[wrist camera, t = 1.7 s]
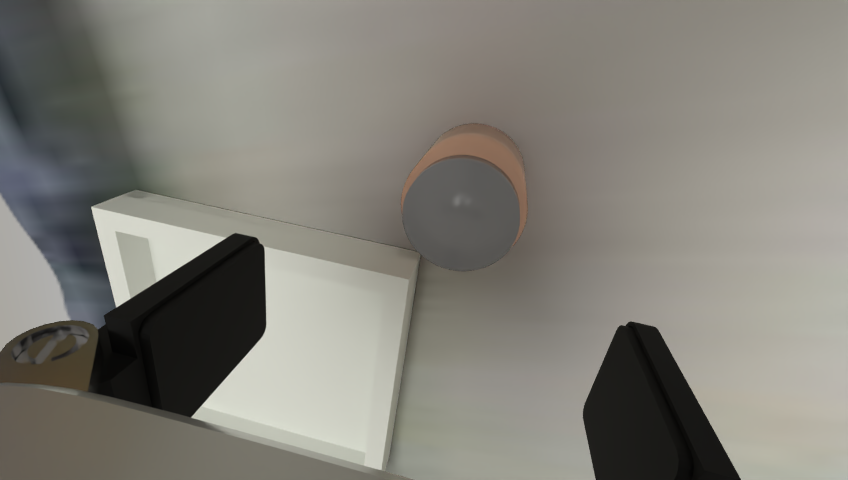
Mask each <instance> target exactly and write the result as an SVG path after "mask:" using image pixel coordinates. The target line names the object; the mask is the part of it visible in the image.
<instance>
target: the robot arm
mask: <svg viewBox="0 0 848 480" xmlns="http://www.w3.org/2000/svg"><path fill="white" fill-rule="evenodd" d="M104 318H105V322H106V325H104V326H103V327H101V328H100V329H97V328H96V327H95V326H94V325H93V324H90V323H87V322H84V321H74V320H71V321H59V322H54V323H50V324H45V325H42V326H39V327H36V328H33V329H30V330H28V331H26V332H24V333H22V334H21V335H19V336H17V337H15V338H14V339H13V340H11V341H10V342H9V343H7V344H6V345H5V347H4V348H3V349H2V351H1V352H0V480H413V479H410V478H406V477H403V476H399V475H396V474H392V473H388V472H385V471H381V470H378V469H374V468H371V467H367V466H364V465H360V464H357V463H353V462H349V461H346V460H342V459H339V458H335V457H332V456H328V455H324V454H321V453H317V452H314V451H310V450H307V449H303V448H299V447H296V446H292V445H289V444H285V443H281V442H278V441H274V440H271V439H267V438H263V437H260V436H256V435H252V434H249V433H245V432H241V431H238V430H234V429H231V428H227V427H223V426H220V425H216V424H212V423H209V422H205V421H201V420H198V419H194V418H191V417H192V416H193V415H194V414H195V412H196V411H197V410H198V409H199V408H200V407H201V406H202V405H203V403H204V402H205V401H206V400H207V399H208V398H209V397H210V396H211V394H212V393H213V392H214V391H215V390H216V389H217V388H218V387H219V385H220V384H221V383H222V382H223V381H224V380H225V379H226V377H227V376H228V375H229V374H230V373H231V372H232V371H233V370H234V368H235V367H236V366H237V365H238V364H239V363H240V362H241V361H242V359H243V358H244V357H245V356H246V355H247V354H248V353H249V352H250V350H251V349H252V348H253V347H254V346H255V345H256V344H257V342H258V341H259V340H260V339H261V338H262V336H263V335H264V333H265V330H266V287H265V250H264V246H263V245H262V244H260V242H259V240H258V239H257V238H256V237H252V236H248V235H243V234H239V233H234V234H232V235H230V236H229V237H227V238H225V239H224V240H222V241H221V242H219V243H218V244H216V245H214V246H213V247H211V248H210V249H208V250H207V251H205V252H203V253H202V254H200V255H199V256H197V257H195V258H194V259H192V260H191V261H189V262H188V263H186V264H184V265H183V266H181V267H180V268H178V269H177V270H175V271H173V272H172V273H170V274H169V275H167V276H165V277H164V278H162V279H161V280H159V281H158V282H156V283H154V284H153V285H151V286H150V287H148V288H147V289H145V290H143V291H142V292H140V293H139V294H137V295H135V296H134V297H132V298H131V299H129V300H128V301H126V302H124V303H123V304H121V305H120V306H118V307H117V308H115V309H113V310H112V311H110V312H109V313H107V314H105V315H104ZM583 420H584V425H585V430H586V435H587V439H588V444H589V449H590V454H591V459H592V463H593V468H594V473H595V478H596V480H741V479H740V477H739V475H738V473H737V472H736V470H735V468H734V466H733V464H732V463H731V461H730V459H729V457H728V455H727V453H726V452H725V450H724V448H723V446H722V444H721V443H720V441H719V439H718V437H717V435H716V434H715V432H714V430H713V428H712V426H711V425H710V423H709V421H708V419H707V417H706V416H705V414H704V412H703V410H702V408H701V406H700V405H699V403H698V401H697V399H696V397H695V396H694V394H693V392H692V390H691V388H690V387H689V385H688V383H687V381H686V379H685V378H684V376H683V374H682V372H681V370H680V369H679V367H678V365H677V363H676V361H675V360H674V358H673V356H672V354H671V352H670V350H669V349H668V347H667V345H666V343H665V341H664V340H663V338H662V336H661V334H660V332H659V331H658V329H657V328H656V327H653V326H649V325H644V324H640V323H635V322H628V324H627V325H626V326H622V325H621V326H619V327H618V329H617V330H616V333H615V335H614V337H613V340H612V342H611V344H610V347H609V349H608V351H607V354H606V356H605V358H604V361H603V363H602V365H601V367H600V370H599V372H598V374H597V377H596V379H595V381H594V384H593V386H592V388H591V391H590V393H589V395H588V398H587V400H586V402H585V405H584V409H583Z"/></svg>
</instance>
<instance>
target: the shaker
mask: <svg viewBox="0 0 848 480" xmlns="http://www.w3.org/2000/svg"><path fill="white" fill-rule="evenodd" d="M401 212H402V218H403V225H404V229H405V232H406V235H407V237H408V239H409V241H410V242H411V244H412V245H413V247H414V248H415V249H416V250H417V251H418V252H419V253H420V254H421V255H422V256H423V257H424V258H426V259H427V260H428V261H430V262H432V263H433V264H435V265H438V266H440V267H442V268H446V269H449V270H455V271H472V270H478V269H481V268H484V267H487V266H489V265H491V264H493V263H495V262H496V261H498V260H499V259H500V258H502V257H503V256H504V255H505V254H506V253H507V252H508V251H509V249H510V248H511V247H512V246H513V245H514V244H515V243H516V241H517V240H518V239H519V237H520V235H521V233H522V232H523V229H524V227H525V224H526V219H527V212H528V204H527V193H526V181H525V170H524V163H523V158H522V156H521V153H520V151H519V149H518V147H517V146H516V144H515V143H514V142H513V140H512V139H511V138H510V137H509V136H507V135H506V134H505V133H504V132H502V131H500V130H499V129H497V128H494V127H492V126H489V125H485V124H477V123H473V124H464V125H460V126H457V127H455V128H452V129H450V130H449V131H447V132H445V133H444V134H443V135H442V136H440V137H439V138H438V139H437V140H436V142H435V143H434V144H433V145H432V147H431V148H430V149H429V150H428V152H427V153H426V154H425V155H424V157H423V158H422V159H421V160H420V161H419V163H418V164H417V165H416V166H415V168H414V169H413V170H412V172H411V173H410V175H409V176H408V178H407V180H406V182H405V185H404V188H403V192H402V197H401Z"/></svg>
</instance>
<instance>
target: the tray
mask: <svg viewBox="0 0 848 480" xmlns="http://www.w3.org/2000/svg"><path fill="white" fill-rule="evenodd" d="M91 208H92V212H93V216H94V220H95V224H96V228H97V232H98V236H99V240H100V244H101V248H102V252H103V256H104V260H105V264H106V268H107V272H108V276H109V280H110V284H111V288H112V292H113V296H114V300H115V304H116V308H117V307H118V306H120V305H121V304H123V303H124V302H126V301H128V300H129V299H131V298H132V297H134V296H135V295H137V294H139V293H140V292H142V291H143V290H145V289H147V288H148V287H150V286H151V285H153V284H154V283H156V282H158V281H159V280H161V279H162V278H164V277H165V276H167V275H169V274H170V273H172V272H173V271H175V270H177V269H178V268H180V267H181V266H183V265H184V264H186V263H188V262H189V261H191V260H192V259H194V258H195V257H197V256H199V255H200V254H202V253H203V252H205V251H207V250H208V249H210V248H211V247H213V246H214V245H216V244H218V243H219V242H221V241H222V240H224V239H225V238H227V237H229V236H230V235H232V234H234V233H239V234H243V235H248V236H252V237H256V238H257V239H258V240H259V242H260V244H262V245H263V246H264V250H265V287H266V330H265V333H264V335H263V336H262V338H261V339H260V340H259V341H258V342H257V344H256V345H255V346H254V347H253V348H252V349H251V350H250V352H249V353H248V354H247V355H246V356H245V357H244V358H243V359H242V361H241V362H240V363H239V364H238V365H237V366H236V367H235V368H234V370H233V371H232V372H231V373H230V374H229V375H228V376H227V377H226V379H225V380H224V381H223V382H222V383H221V384H220V385H219V387H218V388H217V389H216V390H215V391H214V392H213V393H212V394H211V396H210V397H209V398H208V399H207V400H206V401H205V402H204V403H203V405H202V406H201V407H200V408H199V409H198V410H197V411H196V412H195V414H194V415H193V416H192V417H191V418H194V419H198V420H201V421H205V422H209V423H212V424H216V425H220V426H223V427H227V428H231V429H234V430H238V431H241V432H245V433H249V434H252V435H256V436H260V437H263V438H267V439H271V440H274V441H278V442H281V443H285V444H289V445H292V446H296V447H299V448H303V449H307V450H310V451H314V452H317V453H321V454H324V455H328V456H332V457H335V458H339V459H342V460H346V461H349V462H353V463H357V464H360V465H364V466H367V467H371V468H374V469H378V470H381V471H385V469H386V466H387V463H388V460H389V455H390V449H391V443H392V436H393V430H394V423H395V417H396V410H397V404H398V398H399V391H400V385H401V378H402V372H403V366H404V359H405V353H406V346H407V340H408V334H409V327H410V321H411V314H412V308H413V302H414V295H415V289H416V282H417V276H418V270H419V263H420V257H421V254H420V253H419V252H417V251H412V250H408V249H403V248H399V247H394V246H389V245H385V244H380V243H376V242H371V241H367V240H362V239H358V238H353V237H349V236H344V235H340V234H335V233H330V232H326V231H321V230H317V229H312V228H308V227H303V226H299V225H294V224H290V223H285V222H281V221H276V220H271V219H267V218H262V217H258V216H253V215H249V214H244V213H240V212H235V211H231V210H226V209H222V208H217V207H212V206H208V205H203V204H199V203H194V202H190V201H185V200H181V199H176V198H172V197H167V196H163V195H158V194H153V193H149V192H144V191H140V190H134V191H131V192H129V193H126V194H123V195H121V196H118V197H116V198H113V199H110V200H108V201H105V202H103V203H100V204H97V205H95V206H92V207H91Z"/></svg>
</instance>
